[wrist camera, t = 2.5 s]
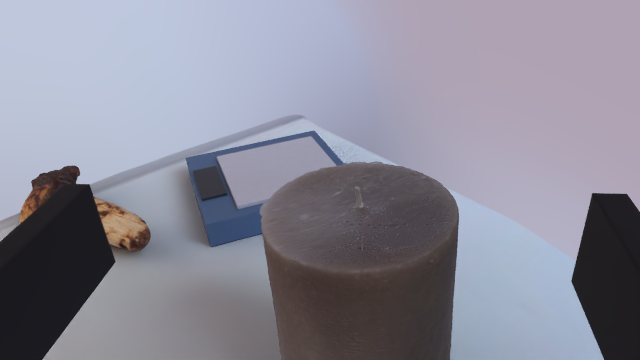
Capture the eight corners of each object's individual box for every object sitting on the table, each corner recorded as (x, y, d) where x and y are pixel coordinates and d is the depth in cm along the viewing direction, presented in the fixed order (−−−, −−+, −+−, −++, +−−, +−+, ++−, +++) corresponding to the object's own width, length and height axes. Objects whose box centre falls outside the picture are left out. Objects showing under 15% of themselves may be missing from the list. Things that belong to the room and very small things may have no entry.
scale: (315, 149, 61) (314, 127, 60) (364, 206, 50) (363, 181, 48) (190, 177, 57) (184, 154, 56) (210, 247, 46) (204, 220, 44)
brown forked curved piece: (-11, 235, 50) (85, 304, 40) (-34, 196, 48) (63, 257, 38) (75, 190, 56) (177, 240, 46) (59, 153, 54) (163, 196, 44)
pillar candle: (463, 465, 27) (491, 239, 20) (282, 472, 28) (241, 254, 20) (429, 328, 36) (439, 133, 28) (290, 335, 36) (264, 144, 28)
